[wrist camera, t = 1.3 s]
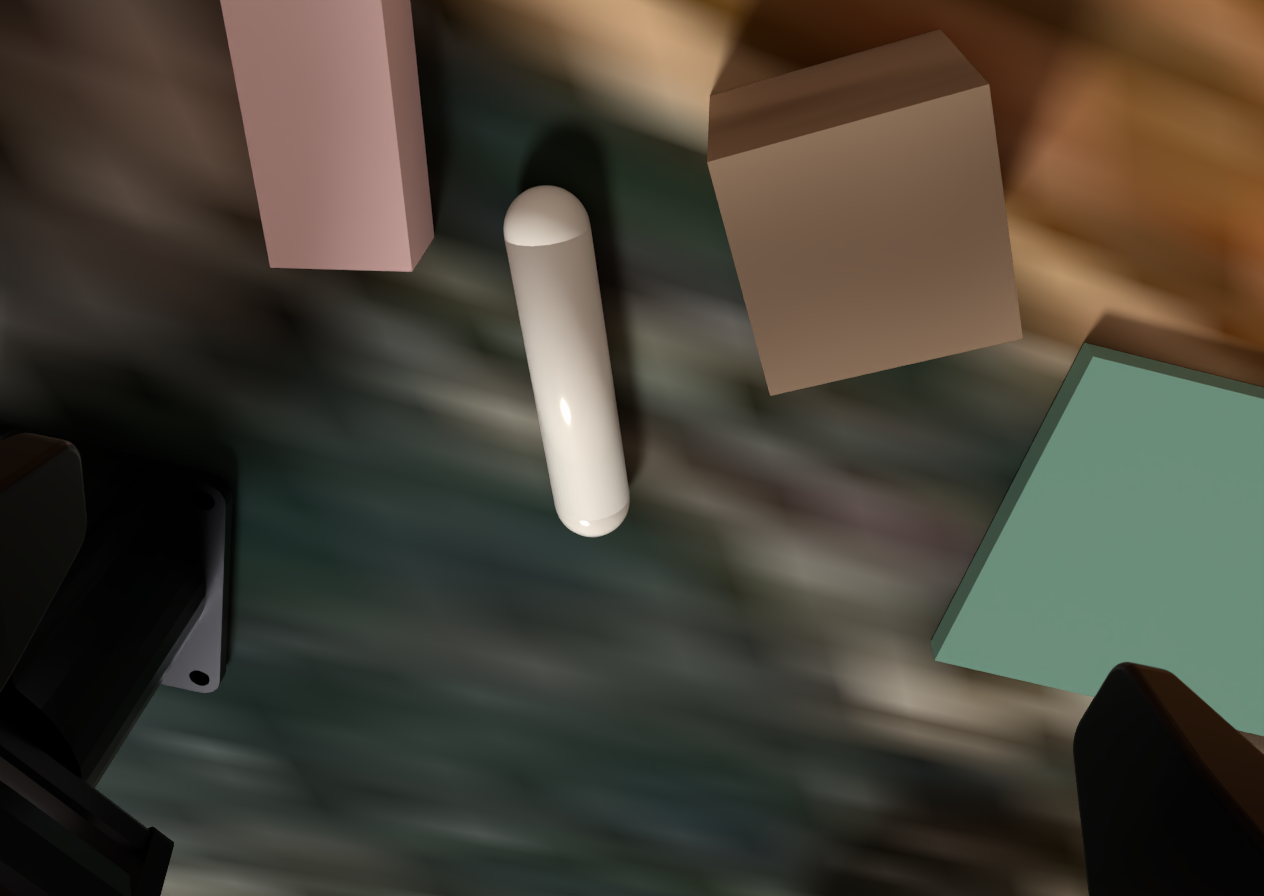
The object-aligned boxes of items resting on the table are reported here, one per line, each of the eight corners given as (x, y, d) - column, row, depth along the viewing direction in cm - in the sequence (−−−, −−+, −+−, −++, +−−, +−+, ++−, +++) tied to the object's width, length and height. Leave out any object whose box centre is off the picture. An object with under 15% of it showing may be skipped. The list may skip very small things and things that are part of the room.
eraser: (437, 232, 21) (411, 271, 19) (306, 228, 21) (270, 267, 19) (409, -49, 18) (377, -32, 17) (260, -50, 19) (213, -33, 17)
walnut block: (972, 244, 20) (1023, 338, 17) (762, 296, 21) (770, 395, 18) (939, 27, 18) (989, 84, 15) (710, 94, 19) (707, 162, 16)
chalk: (636, 506, 24) (631, 550, 23) (565, 510, 24) (556, 554, 23) (588, 169, 20) (578, 197, 19) (504, 178, 20) (488, 206, 19)
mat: (1252, 717, 26) (1263, 736, 25) (930, 642, 25) (934, 660, 25) (1467, 438, 21) (1486, 454, 21) (1084, 342, 21) (1093, 356, 20)
